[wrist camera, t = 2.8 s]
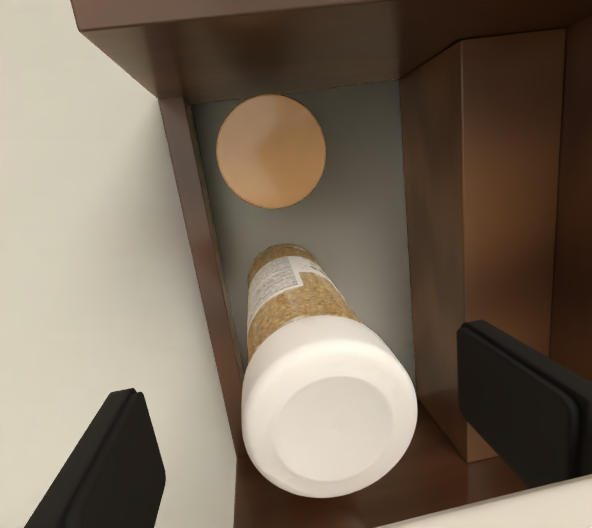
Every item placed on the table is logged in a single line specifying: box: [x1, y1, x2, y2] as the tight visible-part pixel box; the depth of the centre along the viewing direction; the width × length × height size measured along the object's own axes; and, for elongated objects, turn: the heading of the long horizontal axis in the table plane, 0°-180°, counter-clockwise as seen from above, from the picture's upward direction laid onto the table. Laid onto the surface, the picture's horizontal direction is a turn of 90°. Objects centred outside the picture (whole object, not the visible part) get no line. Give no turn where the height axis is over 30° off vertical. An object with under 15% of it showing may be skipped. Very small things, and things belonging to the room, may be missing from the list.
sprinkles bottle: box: [241, 244, 418, 498], centre depth 15 cm, size 5×5×14 cm
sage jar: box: [216, 94, 326, 209], centre depth 17 cm, size 4×4×6 cm
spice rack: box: [70, 0, 592, 528], centre depth 16 cm, size 23×18×12 cm
